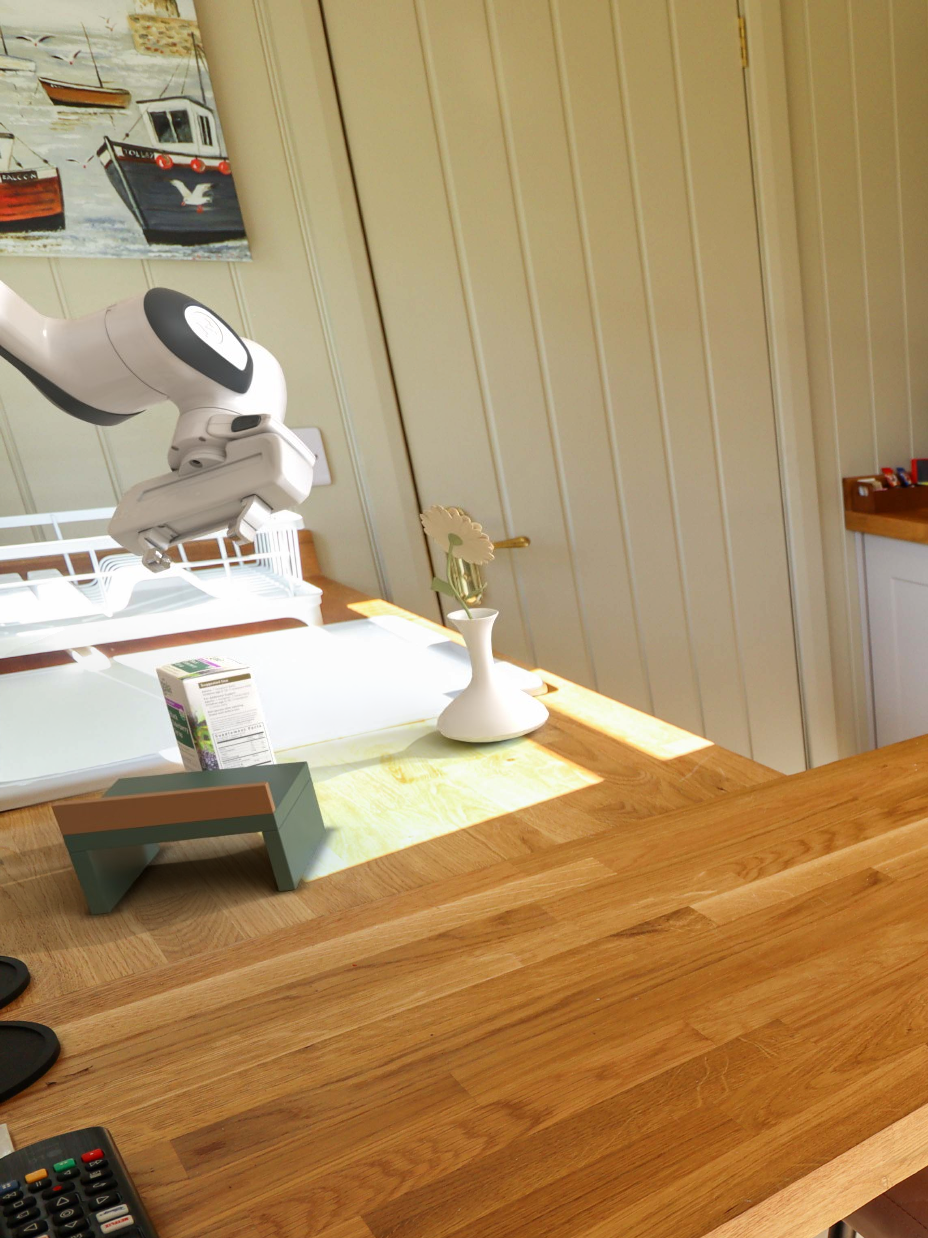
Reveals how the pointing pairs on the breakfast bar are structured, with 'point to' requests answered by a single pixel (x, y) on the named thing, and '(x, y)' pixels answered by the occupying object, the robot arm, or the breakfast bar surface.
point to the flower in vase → (477, 646)
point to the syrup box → (216, 714)
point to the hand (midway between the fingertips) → (197, 553)
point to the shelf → (189, 823)
